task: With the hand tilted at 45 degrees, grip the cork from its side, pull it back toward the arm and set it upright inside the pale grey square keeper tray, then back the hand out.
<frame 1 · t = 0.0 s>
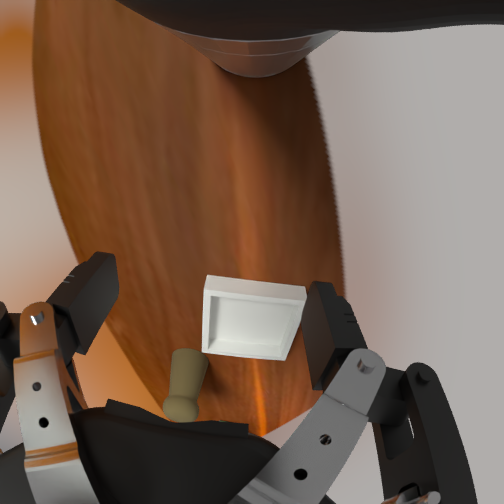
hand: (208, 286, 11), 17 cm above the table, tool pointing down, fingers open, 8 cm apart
keeper tray: (250, 315, 35), on the table
cork: (190, 358, 42), on the table
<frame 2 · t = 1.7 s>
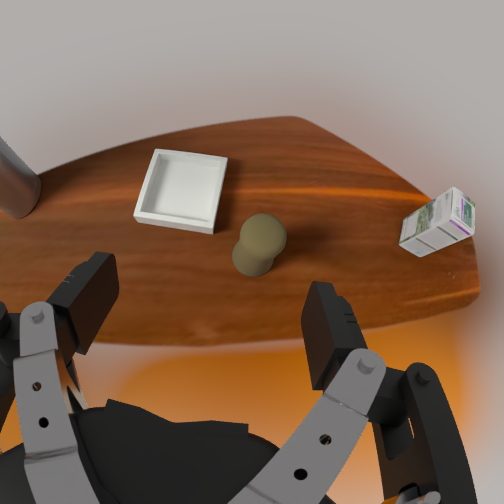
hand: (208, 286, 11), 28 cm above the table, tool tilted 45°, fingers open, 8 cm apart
syrup box: (410, 238, 44), on the table
keeper tray: (182, 192, 41), on the table
cork: (253, 256, 40), on the table
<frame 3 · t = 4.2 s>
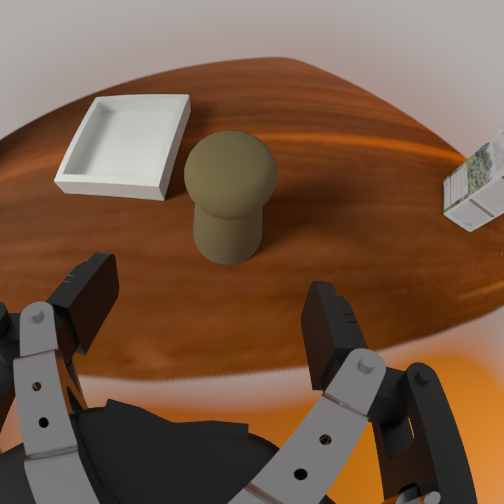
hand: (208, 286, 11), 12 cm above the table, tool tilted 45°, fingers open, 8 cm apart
syrup box: (455, 206, 28), on the table
keeper tray: (126, 148, 26), on the table
cork: (227, 231, 24), on the table
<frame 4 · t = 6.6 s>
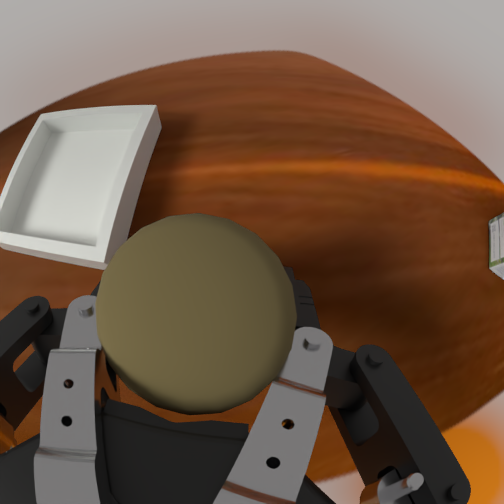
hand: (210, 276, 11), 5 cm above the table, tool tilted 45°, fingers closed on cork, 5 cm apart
syrup box: (499, 254, 20), on the table
keeper tray: (74, 186, 17), on the table
cork: (211, 323, 16), on the table, touching gripper
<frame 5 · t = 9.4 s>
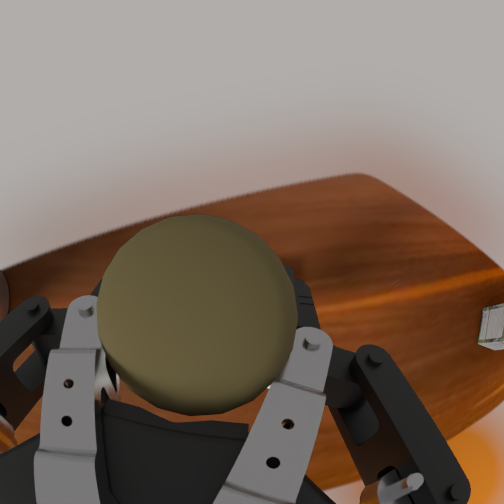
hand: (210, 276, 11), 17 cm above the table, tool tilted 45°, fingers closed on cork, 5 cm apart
syrup box: (487, 329, 29), on the table
cork: (212, 324, 16), point 11 cm above the table, touching gripper
when the fingers open (7 cm above the table, at t = 12.4 s): cork drops 1 cm, resting on keeper tray.
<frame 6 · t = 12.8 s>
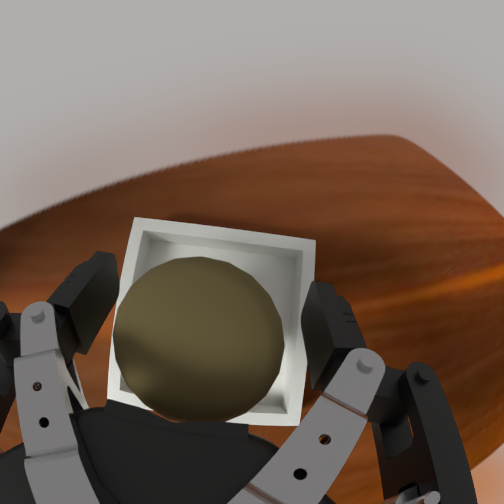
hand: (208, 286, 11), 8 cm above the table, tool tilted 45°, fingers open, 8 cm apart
keeper tray: (212, 324, 18), on the table
cork: (208, 333, 17), resting on keeper tray
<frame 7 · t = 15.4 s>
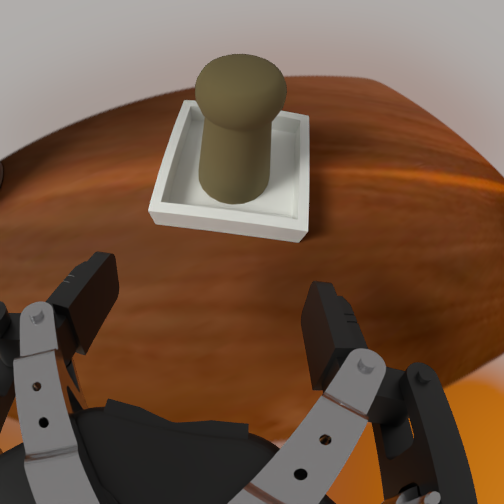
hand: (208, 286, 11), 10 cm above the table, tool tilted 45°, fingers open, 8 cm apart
keeper tray: (236, 170, 23), on the table
cork: (233, 173, 23), resting on keeper tray
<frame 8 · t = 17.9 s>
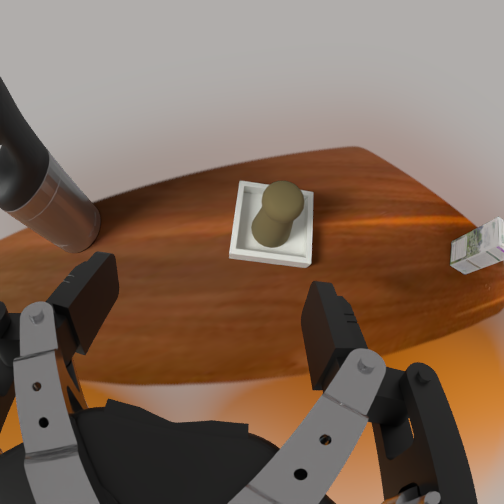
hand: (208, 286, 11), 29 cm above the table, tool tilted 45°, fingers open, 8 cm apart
syrup box: (457, 258, 45), on the table
keeper tray: (271, 226, 43), on the table
cork: (270, 229, 42), resting on keeper tray
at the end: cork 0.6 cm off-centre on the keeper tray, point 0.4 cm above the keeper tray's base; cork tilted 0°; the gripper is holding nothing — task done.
